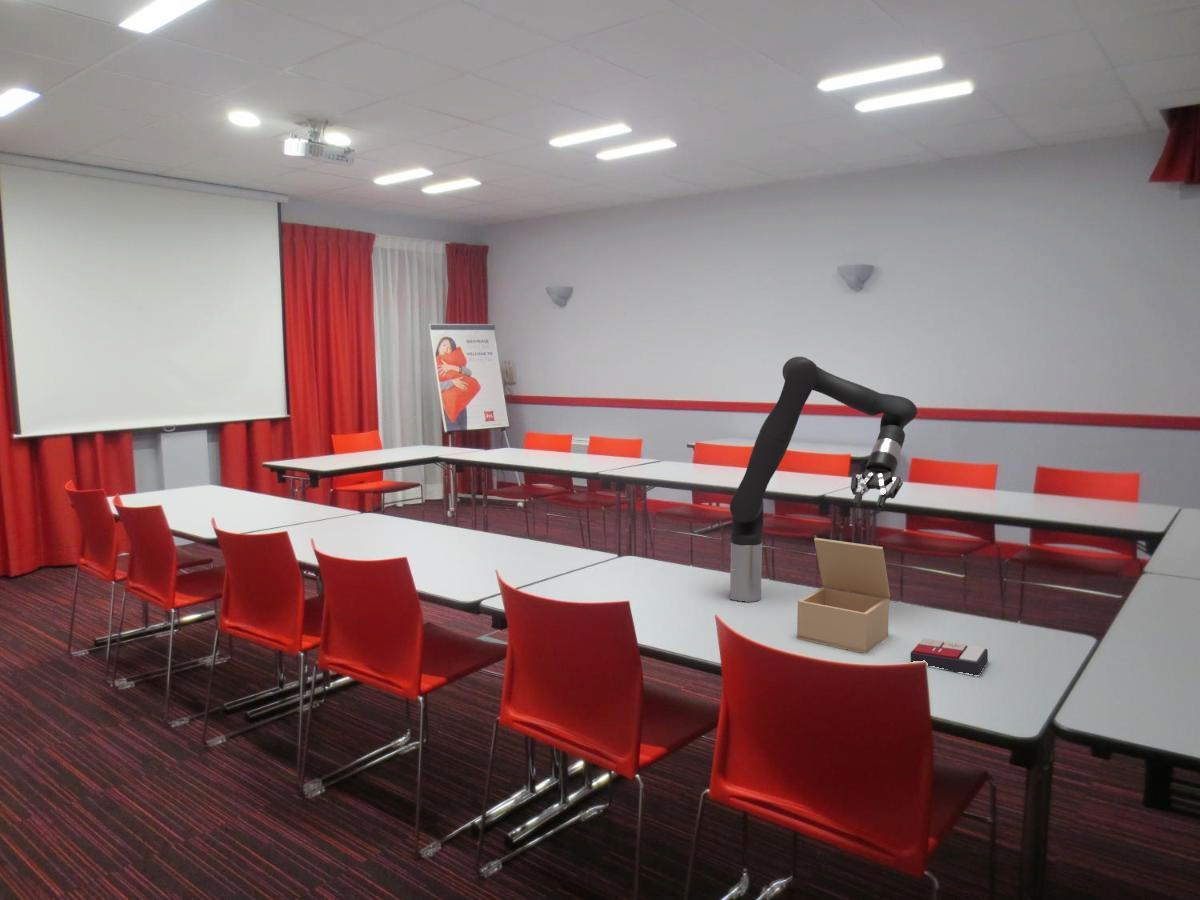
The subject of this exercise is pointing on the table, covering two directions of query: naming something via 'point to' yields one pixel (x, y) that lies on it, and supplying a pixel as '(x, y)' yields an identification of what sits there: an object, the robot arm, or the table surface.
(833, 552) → the lid
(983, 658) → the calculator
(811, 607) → the box
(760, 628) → the table surface
